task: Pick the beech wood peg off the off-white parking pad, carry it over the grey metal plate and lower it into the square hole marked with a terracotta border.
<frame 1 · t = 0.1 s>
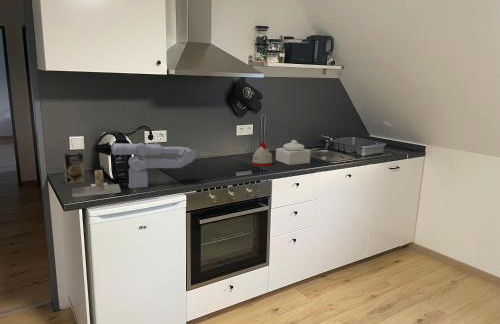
hand: (95, 148, 194), 22 cm above the worktop, tool horizontal, fingers open, 7 cm apart
coffee box: (75, 182, 212), on the worktop
parking pad: (99, 186, 205), on the worktop
butter dish: (293, 161, 275), on the worktop
kitchen timer: (262, 164, 266), on the worktop
peg: (99, 185, 205), resting on parking pad
hole plate: (96, 192, 194), on the worktop
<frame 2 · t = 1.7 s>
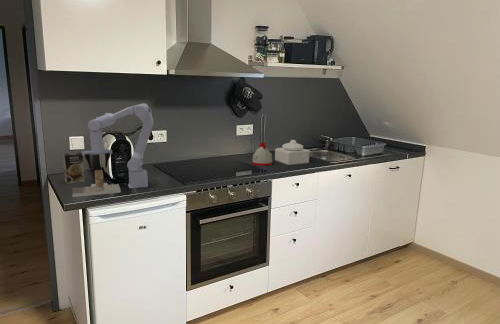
hand: (98, 168, 203), 10 cm above the worktop, tool pointing down, fingers open, 7 cm apart
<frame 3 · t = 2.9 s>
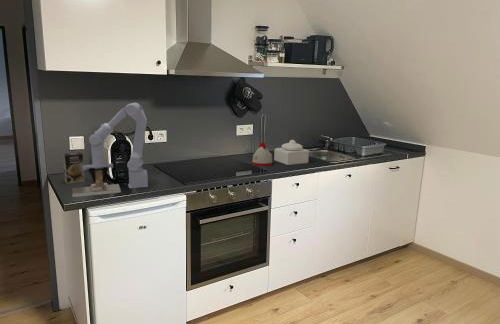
hand: (99, 181, 205), 3 cm above the worktop, tool pointing down, fingers closed on peg, 4 cm apart
peg: (99, 185, 205), resting on parking pad, touching gripper
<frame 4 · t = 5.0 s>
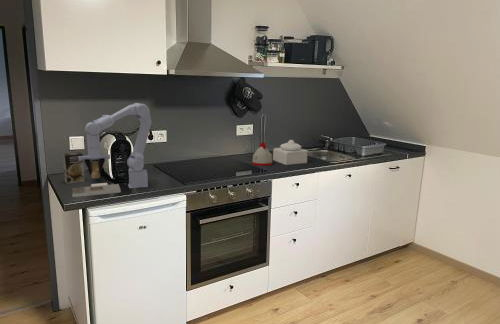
hand: (95, 173, 193), 10 cm above the worktop, tool pointing down, fingers closed on peg, 4 cm apart
peg: (95, 177, 194), point 7 cm above the worktop, touching gripper
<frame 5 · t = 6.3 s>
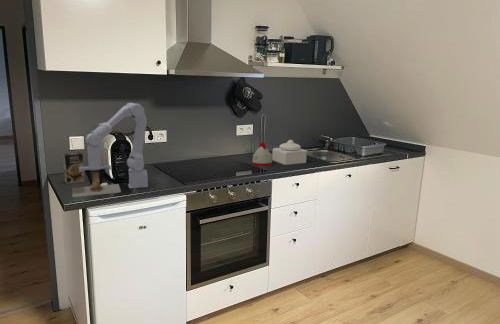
hand: (96, 184, 193), 4 cm above the worktop, tool pointing down, fingers closed on peg, 4 cm apart
peg: (96, 188, 194), point 2 cm above the worktop, touching gripper
when the fingers open (3 cm above the worktop, at t = 7.1 s): peg stays where it is, resting in hole plate.
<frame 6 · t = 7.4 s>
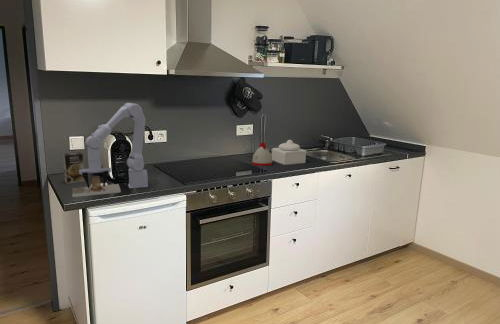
hand: (96, 186, 194), 3 cm above the worktop, tool pointing down, fingers open, 7 cm apart
peg: (96, 192, 194), resting in hole plate
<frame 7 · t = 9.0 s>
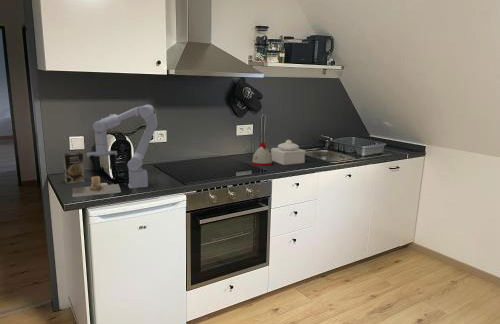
hand: (103, 169, 203), 9 cm above the worktop, tool pointing down, fingers open, 7 cm apart
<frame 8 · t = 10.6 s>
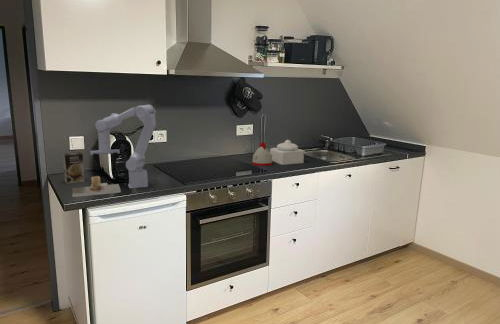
hand: (106, 167, 208), 9 cm above the worktop, tool pointing down, fingers open, 7 cm apart
at the end: peg 0.1 cm off-centre on the hole plate, point 0.0 cm above the hole plate's base; peg tilted 0°; the gripper is holding nothing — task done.
